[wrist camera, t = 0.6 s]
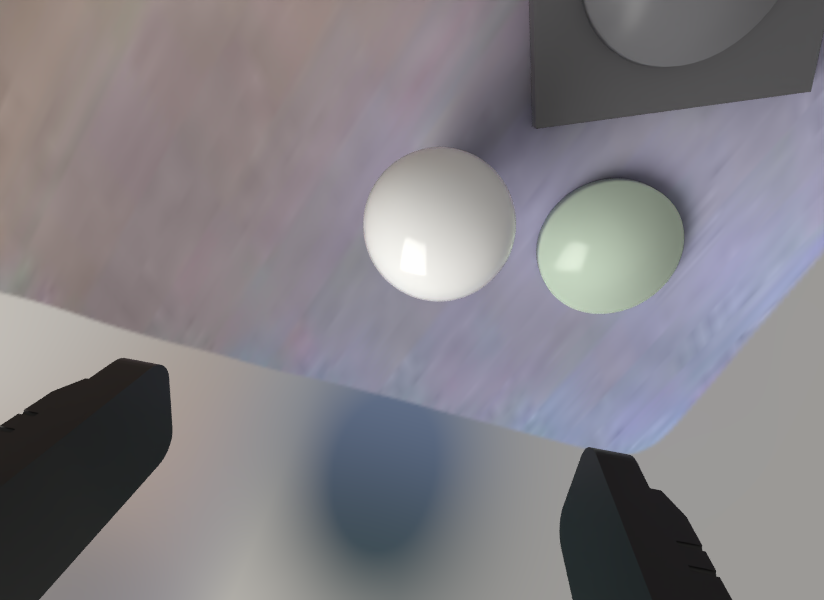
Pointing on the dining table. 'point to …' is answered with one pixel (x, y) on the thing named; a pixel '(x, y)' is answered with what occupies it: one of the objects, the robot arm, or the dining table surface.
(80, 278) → the dining table surface
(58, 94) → the dining table surface
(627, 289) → the pale green dome
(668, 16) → the lamp base pad
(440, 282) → the lightbulb
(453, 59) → the dining table surface
